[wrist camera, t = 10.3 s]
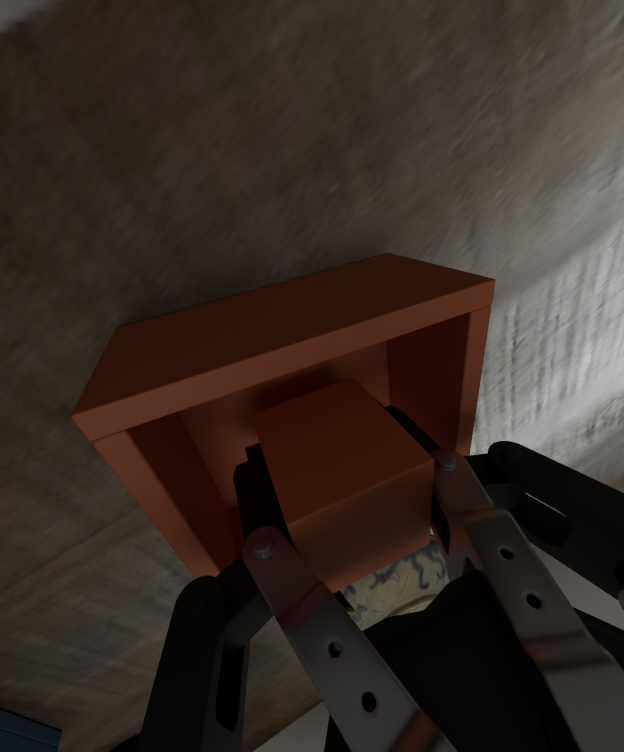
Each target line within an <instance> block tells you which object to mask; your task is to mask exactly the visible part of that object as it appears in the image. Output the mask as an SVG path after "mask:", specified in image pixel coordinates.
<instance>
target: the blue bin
mask: <svg viewBox="0 0 624 752" xmlns="http://www.w3.org/2000/svg"><path fill="white" fill-rule="evenodd" d="M61 734H62V732H61V731H59V730H56V729H53V728H50V727H48V726H45V725H42V724H39V723H36V722H34V721H31V720H28V719H25V718H23V717H20V716H17V715H14V714H12V713H9V712H6V711H3V710H0V752H57V751H58V748H57V747H58V746H59V742H60V738H61Z"/></svg>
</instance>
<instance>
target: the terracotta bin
mask: <svg viewBox="0 0 624 752" xmlns="http://www.w3.org/2000/svg"><path fill="white" fill-rule="evenodd" d="M494 287H495V279H492V278H488V277H484V276H480V275H476V274H472V273H468V272H463V271H459V270H455V269H451V268H447V267H443V266H439V265H435V264H431V263H427V262H423V261H419V260H415V259H411V258H407V257H403V256H398V255H394V254H390V253H387V254H384V255H380V256H376V257H373V258H369V259H365V260H362V261H358V262H355V263H351V264H347V265H344V266H340V267H336V268H333V269H329V270H326V271H322V272H318V273H315V274H311V275H307V276H304V277H300V278H297V279H293V280H289V281H286V282H282V283H278V284H275V285H271V286H268V287H264V288H260V289H257V290H253V291H249V292H246V293H242V294H239V295H235V296H231V297H228V298H224V299H220V300H217V301H213V302H210V303H206V304H202V305H199V306H195V307H191V308H188V309H184V310H181V311H177V312H173V313H170V314H166V315H162V316H159V317H155V318H152V319H148V320H144V321H141V322H137V323H133V324H130V325H126V326H122V327H119V328H117V329H116V330H115V332H114V334H113V336H112V337H111V339H110V341H109V343H108V344H107V346H106V348H105V350H104V352H103V354H102V356H101V358H100V360H99V362H98V364H97V366H96V368H95V370H94V371H93V373H92V375H91V377H90V379H89V381H88V383H87V385H86V387H85V389H84V391H83V393H82V395H81V397H80V399H79V400H78V402H77V404H76V406H75V408H74V410H73V412H72V414H71V418H72V419H73V421H74V422H75V423H76V425H77V426H78V427H79V428H80V430H81V431H82V432H83V434H84V435H85V436H86V438H87V439H88V440H89V441H92V444H93V445H94V447H95V448H96V449H97V451H98V452H99V453H100V455H101V456H102V457H103V458H104V460H105V461H106V462H107V464H108V465H109V466H110V468H111V469H112V470H113V471H114V473H115V474H116V475H117V477H118V478H119V479H120V481H121V482H122V483H123V484H124V486H125V487H126V488H127V490H128V491H129V492H130V494H131V495H132V496H133V497H134V499H135V500H136V501H137V503H138V504H139V505H140V507H141V508H142V509H143V510H144V512H145V513H146V514H147V516H148V517H149V518H150V520H151V521H152V522H153V523H154V525H155V526H156V527H157V529H158V530H159V531H160V533H161V534H162V535H163V536H164V538H165V539H166V540H167V542H168V543H169V544H170V546H171V547H172V548H173V549H174V551H175V552H176V553H177V555H178V556H179V557H180V559H181V560H182V561H183V562H184V564H185V565H186V566H187V568H188V569H189V570H190V572H191V573H192V574H193V575H194V577H195V578H198V577H201V576H205V575H210V576H214V577H216V576H217V575H219V574H220V573H221V572H222V571H223V570H224V569H226V568H227V567H228V566H229V565H230V564H231V563H232V562H233V561H234V560H235V559H236V558H237V556H238V554H239V553H240V551H241V548H242V546H243V541H244V534H243V529H242V523H241V518H240V513H239V507H238V502H237V497H236V491H235V486H234V481H233V475H234V471H235V468H236V465H238V464H241V463H243V462H246V461H248V459H247V455H246V451H245V448H246V447H249V446H251V445H254V444H256V443H259V439H258V436H257V433H256V430H255V427H254V424H253V421H252V418H251V415H252V414H253V413H256V412H259V411H262V410H264V409H267V408H270V407H273V406H276V405H278V404H281V403H284V402H287V401H289V400H292V399H295V398H298V397H300V396H303V395H306V394H309V393H312V392H314V391H317V390H320V389H323V388H325V387H328V386H331V385H334V384H336V383H339V382H342V381H345V380H348V379H350V378H355V379H356V380H357V381H358V382H359V383H360V384H361V385H362V386H363V387H364V388H365V389H366V390H367V391H368V392H369V393H370V394H371V395H372V396H373V397H374V398H375V399H377V400H378V401H379V402H380V403H381V404H382V405H383V406H384V407H387V406H390V405H391V406H394V407H396V408H398V409H400V410H402V411H403V412H404V413H405V414H406V415H407V416H408V417H409V418H410V419H412V420H413V421H414V422H415V423H416V425H418V426H419V427H420V428H421V429H422V430H423V431H424V432H425V433H426V434H427V435H428V436H430V437H431V438H432V439H433V440H434V441H435V442H436V443H437V444H438V445H439V446H440V447H441V448H442V449H450V450H454V451H456V452H458V453H460V454H461V455H462V456H469V455H470V448H471V441H472V434H473V427H474V421H475V414H476V407H477V400H478V393H479V387H480V380H481V373H482V366H483V359H484V353H485V346H486V339H487V332H488V325H489V318H490V312H491V304H492V300H493V293H494ZM430 527H431V526H430Z"/></svg>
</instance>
